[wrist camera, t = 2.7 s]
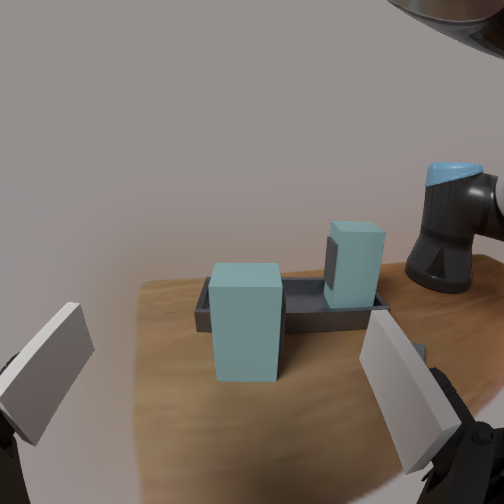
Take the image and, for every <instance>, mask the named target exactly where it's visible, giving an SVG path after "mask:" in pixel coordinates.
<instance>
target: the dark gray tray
mask: <svg viewBox="0 0 504 504" xmlns="http://www.w3.org/2000/svg"><path fill="white" fill-rule="evenodd" d="M210 280H211V277H206V280H205V283H204V286H203V289H202V292H201V294H200V297H199V300H198V303H197V306H196V309H195V312H194V313H195V321H196V329H197V332H212V326H211V314H210V302H209V289H208V286H209V283H210ZM281 282H282V285H283V288H284V294H285V299H286V318H285V331H284V333H305V332H329V331H346V330H361V329H367V328H368V324H369V320H370V316H371V311H372V310H388V312H390V307H389V306H388V305H387V303H386V302H385V301H384V299H383V298H382V297H381V295H380V294H379V293H378V291H377V290H376V293H375V298H374V302H373V307H355V308H332V309H330V307H329V305H328V302H327V300H326V298H325V295H324V287H325V279H324V277H281Z"/></svg>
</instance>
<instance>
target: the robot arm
mask: <svg viewBox="0 0 504 504" xmlns="http://www.w3.org/2000/svg"><path fill="white" fill-rule="evenodd" d="M387 1H389V2H390V3H391V4H393V5H394V6H395V7H397V8H398V9H400V10H401V11H403V12H404V13H406V14H408V15H409V16H411V17H413V18H414V19H416V20H418V21H420V22H422V23H424V24H426V25H427V26H429V27H431V28H432V29H434V30H437V31H438V32H440V33H442V34H444V35H446V36H449V37H451V38H453V39H455V40H457V41H459V42H461V43H463V44H465V45H468V46H470V47H472V48H475V49H477V50H479V51H481V52H484V53H487V54H489V55H492V56H495V57H498V58H501V59H504V0H387ZM425 187H426V192H425V202H424V210H423V217H422V224H421V230H420V235H419V237H418V239H417V241H416V243H415V246H414V247H413V250H412V251H411V254H410V255H409V257H408V259H407V263H406V268H405V271H406V274H407V275H408V276H409V277H410V278H411V279H412V280H414V281H415V282H417V283H418V284H420V285H422V286H425V287H427V288H430V289H433V290H436V291H440V292H446V293H461V292H465V291H467V290H468V289H469V287H470V284H471V281H472V276H473V275H472V244H473V239H474V234H478V235H482V236H486V237H489V238H493V239H496V240H500V241H503V242H504V171H502V173H501V174H500V175H499V177H497V176H494V175H489V174H485V173H483V167H482V165H480V164H470V163H456V162H455V163H454V162H434V163H432V164H431V165H430V166H429V168H428V174H427V181H426V184H425ZM94 350H95V349H94V346H93V343H92V340H91V337H90V334H89V331H88V328H87V325H86V322H85V319H84V315H83V312H82V308H81V305H80V303H71V302H68V303H67V304H66V305H65V306H64V307H63V308H62V309H61V310H60V311H59V312H58V313H57V314H56V315H55V316H54V317H53V318H52V319H51V320H50V321H49V322H48V323H47V324H46V325H45V326H44V327H43V328H42V329H41V330H40V331H39V332H38V333H37V334H36V336H35V337H34V338H33V339H32V340H31V341H30V342H29V343H28V344H27V345H26V346H25V348H24V349H23V350H22V351H21V352H19V353H18V354H16V355H15V356H13V357H12V358H11V359H10V360H9V361H8V362H7V364H6V366H4V367H3V368H2V370H1V372H0V504H31V503H30V500H29V497H28V493H27V490H26V486H25V482H24V478H23V474H22V469H21V464H20V459H19V454H18V448H17V442H16V439H15V437H14V436H13V434H14V433H15V431H16V433H17V434H18V435H19V436H20V437H21V439H22V440H23V441H25V442H27V443H29V444H31V445H33V446H36V445H37V443H38V441H39V440H40V438H41V436H42V434H43V432H44V431H45V429H46V427H47V425H48V424H49V422H50V420H51V418H52V417H53V415H54V413H55V412H56V410H57V408H58V406H59V405H60V403H61V402H62V400H63V398H64V397H65V395H66V393H67V392H68V390H69V389H70V387H71V385H72V384H73V382H74V381H75V379H76V378H77V376H78V374H79V373H80V371H81V370H82V368H83V367H84V365H85V364H86V362H87V361H88V359H89V357H90V356H91V355H92V353H93V352H94ZM359 360H360V362H361V364H362V367H363V369H364V371H365V373H366V376H367V378H368V380H369V383H370V385H371V387H372V390H373V392H374V395H375V397H376V399H377V402H378V404H379V407H380V409H381V412H382V414H383V417H384V419H385V422H386V424H387V427H388V429H389V432H390V434H391V437H392V440H393V442H394V445H395V448H396V450H397V453H398V456H399V458H400V461H401V464H402V467H403V469H404V472H405V475H406V474H409V473H412V472H415V471H418V470H421V469H423V468H425V467H426V466H427V464H428V463H429V462H430V461H432V463H433V466H434V467H433V468H432V469H431V470H430V471H429V472H428V473H427V474H426V475H425V476H424V477H423V479H422V480H421V481H425V479H427V478H428V479H427V481H426V484H425V486H424V488H423V491H422V493H421V495H420V497H419V499H418V501H417V504H504V428H497V429H493V428H492V427H491V426H490V425H489V424H487V423H485V422H479V421H477V422H476V421H475V420H474V418H473V417H472V415H471V413H470V412H469V410H468V409H467V407H466V405H465V404H464V402H463V401H462V399H461V398H460V396H459V395H458V394H457V393H456V392H457V391H456V390H455V388H454V387H453V386H451V385H452V384H451V382H450V381H449V379H448V378H447V377H446V375H445V374H444V373H442V372H441V371H440V370H438V369H437V368H436V367H435V368H431V369H428V368H427V366H426V365H425V363H424V362H423V360H422V359H421V357H420V356H419V354H418V353H417V351H416V350H415V348H414V347H413V345H412V344H411V342H410V341H409V340H408V338H407V337H406V335H405V334H404V332H403V331H402V330H401V328H400V327H399V325H398V324H397V323H396V321H395V320H394V319H393V317H392V316H391V314H390V313H389V312H388V310H372V311H371V316H370V320H369V324H368V328H367V332H366V336H365V340H364V343H363V347H362V351H361V354H360V358H359Z"/></svg>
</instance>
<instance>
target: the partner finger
mask: <svg viewBox="0 0 504 504" xmlns="http://www.w3.org/2000/svg"><path fill="white" fill-rule="evenodd" d="M385 234H386V233H385V232H384V231H383V230H382V229H380V228H379V227H377V226H376V225H374V224H373V223H371V222H353V221H331V228H330V237H327V249H326V259H325V269H324V279H325V287H324V295H325V298H326V300H327V302H328V305H329V307H330V309H332V308H355V307H373V302H374V298H375V293H376V288H377V283H378V278H379V272H380V266H381V261H382V254H383V248H384V241H385Z"/></svg>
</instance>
